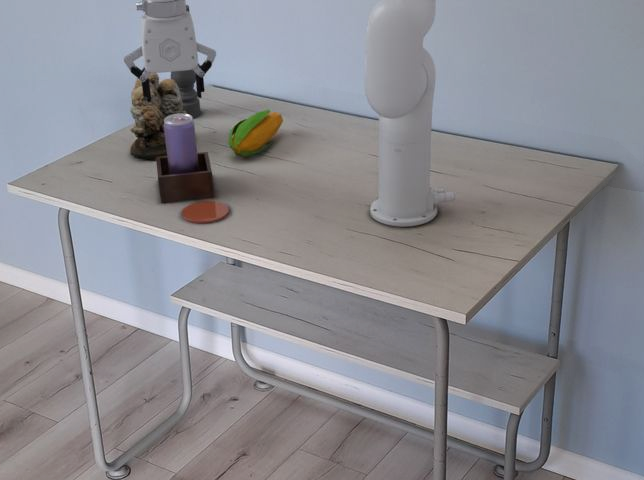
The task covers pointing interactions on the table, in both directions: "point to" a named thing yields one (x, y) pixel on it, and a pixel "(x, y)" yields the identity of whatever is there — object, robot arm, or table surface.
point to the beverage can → (181, 144)
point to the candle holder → (187, 89)
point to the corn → (254, 133)
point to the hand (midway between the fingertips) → (174, 97)
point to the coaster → (205, 212)
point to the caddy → (185, 181)
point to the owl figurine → (153, 115)
